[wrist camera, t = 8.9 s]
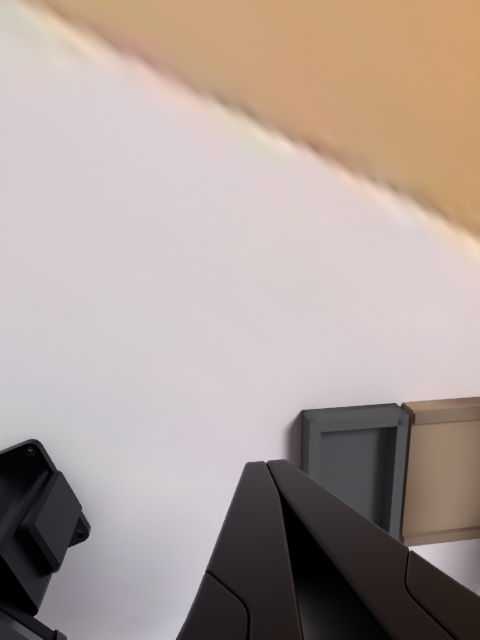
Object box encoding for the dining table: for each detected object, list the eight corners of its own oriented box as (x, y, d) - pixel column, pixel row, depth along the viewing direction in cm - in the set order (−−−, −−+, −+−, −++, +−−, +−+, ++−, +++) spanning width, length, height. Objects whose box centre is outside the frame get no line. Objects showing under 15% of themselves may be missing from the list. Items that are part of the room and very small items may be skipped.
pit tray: (299, 543, 25) (306, 562, 23) (302, 410, 23) (309, 423, 21) (385, 533, 26) (397, 551, 24) (395, 403, 23) (409, 415, 22)
